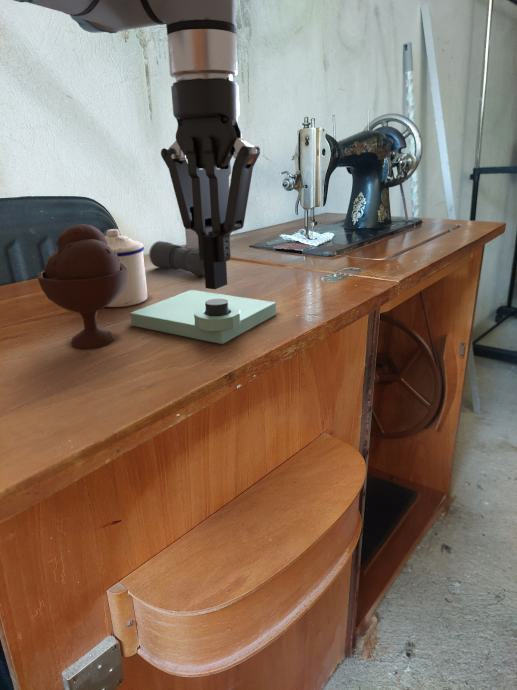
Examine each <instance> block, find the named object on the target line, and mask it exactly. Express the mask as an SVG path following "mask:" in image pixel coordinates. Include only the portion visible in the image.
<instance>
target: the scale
mask: <svg viewBox="0 0 517 690" xmlns="http://www.w3.org/2000/svg"><path fill="white" fill-rule="evenodd" d="M210 299H226V300H228V305H229V314H227V315H224V316H208V315H206V308H205V302H206V301H207V300H210ZM276 315H277V302H275V301H269V300H262V299H261V300H260V299H255V298H251V297H250V298H249V297H242V296H237V295H229V294H223V293H215V292H208V291H202V290H195V289H189V290H187V291H184V292H182V293H179V294H176V295H173V296H170V297H168V298H165V299H163V300H160V301H158V302H155V303H152V304H150V305H147V306H144V307H142V308H139V309H137V310H134V311H131V312H129V319H130V326H133V327H137V328H142V329H147V330H153V331H156V332H162V333H166V334H172V335H176V336H181V337H186V338H191V339H195V340H201V341H205V342H209V343H210V342H211V343H215V344H220V345H224V344H225V343H227V342H229V341H231V340H232V339H234V338H236V337H238V336H240V335H242V334H243V333H245V332H247V331H249V330H250V329H253V328H254V327H256V326H258V325H260V324H261V323H263V322H265V321H267V320H269V319H271V318H273V317H274V316H276Z"/></svg>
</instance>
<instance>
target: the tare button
mask: <svg viewBox="0 0 517 690" xmlns="http://www.w3.org/2000/svg"><path fill="white" fill-rule="evenodd" d="M205 308H206V315H208V316H224V315H227V314H229V305H228V300H226V299H210V300H207V301H206V302H205Z"/></svg>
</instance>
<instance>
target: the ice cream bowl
mask: <svg viewBox="0 0 517 690" xmlns="http://www.w3.org/2000/svg"><path fill="white" fill-rule="evenodd" d="M105 236H106V235H105V234H104V233H103V232H102V231H101V230H100V229H99V228H97V227H95V226H94V225H90V224H86V223H78V224H74V225H70V226H68V227H66V229H64V230H63V231H62V232H61V233H60V234H59V236H58V237H57V239H56V241H55V242H56V243H55V244H56V247H57V250H56V251H54V252H53V253H52V254H51V255H50V256H49V257H48V258H47V261H46V264H45V267H44V269H43V270H40V271H38V272H37V280H38V283H39V285H40V288H41V290H42V292H43V294H45V296H46V298H48V300H49V301H51V302H53V303H54V304H55V305H57V306H58V307H60V308H62V309H64V310H66V311H70V312H75V313H79V314H80V316H81V317H82V321H83V329H82V330H81V331H79V332H78V333H76V335H74V336H73V337H72V339H71V345H72V347H74V348H79V349H95V348H100V347H104V346H107V345H109V344H111V343H112V342H114V341H115V338H114V336H113V333H112V332H111V331H110V330H107V329H104V328H102V327H99V325H98V318H97V315H98V312H99V311H100V310H103V309H104V308H107V307H106V306H108V305H109V304H110V303H111V302H113V301H114V300H115V299H116V298H117V297H118V296H119V294H120V293H121V292H122V291H123V289H124V286H125V283H126V281H127V268H126V266H125V265H124V264H122V263H120V261H119V258H118V255H117V253H116V252H115V251H114V252H113V250H112V249H111V247H109V246H108V245H107V240H106V238H105Z"/></svg>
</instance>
